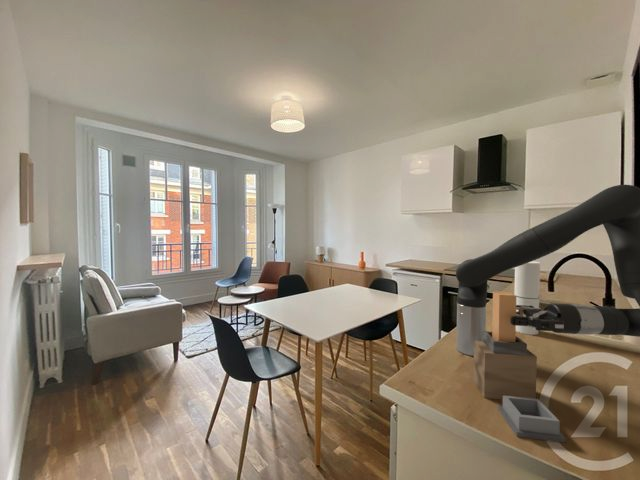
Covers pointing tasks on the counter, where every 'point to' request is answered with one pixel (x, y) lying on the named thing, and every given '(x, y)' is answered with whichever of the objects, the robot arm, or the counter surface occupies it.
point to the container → (527, 290)
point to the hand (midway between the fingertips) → (503, 315)
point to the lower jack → (530, 419)
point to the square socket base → (504, 368)
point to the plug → (503, 316)
